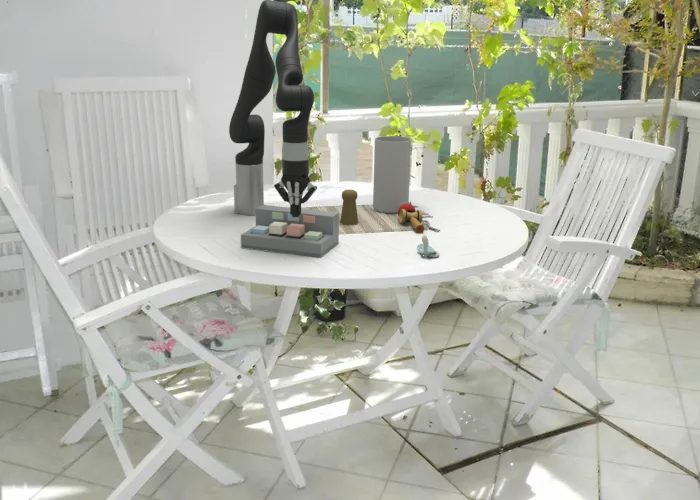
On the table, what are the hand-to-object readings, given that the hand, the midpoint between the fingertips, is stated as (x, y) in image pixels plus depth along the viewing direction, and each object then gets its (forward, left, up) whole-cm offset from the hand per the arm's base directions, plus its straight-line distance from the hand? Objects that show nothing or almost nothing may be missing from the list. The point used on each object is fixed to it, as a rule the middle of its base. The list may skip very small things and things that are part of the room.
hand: (295, 216), depth 219 cm
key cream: (-6, 0, -7) cm, 9 cm away
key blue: (-11, 0, -8) cm, 14 cm away
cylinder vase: (+13, +55, -10) cm, 57 cm away
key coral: (0, 0, -7) cm, 7 cm away
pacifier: (+38, +9, -10) cm, 40 cm away
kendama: (+25, +37, -10) cm, 46 cm away
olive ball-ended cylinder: (+5, +33, -10) cm, 35 cm away
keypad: (-3, +3, -10) cm, 11 cm away
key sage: (+5, 0, -8) cm, 10 cm away
